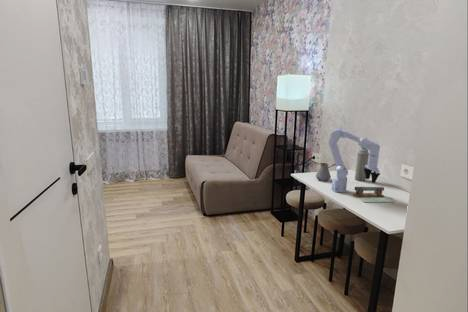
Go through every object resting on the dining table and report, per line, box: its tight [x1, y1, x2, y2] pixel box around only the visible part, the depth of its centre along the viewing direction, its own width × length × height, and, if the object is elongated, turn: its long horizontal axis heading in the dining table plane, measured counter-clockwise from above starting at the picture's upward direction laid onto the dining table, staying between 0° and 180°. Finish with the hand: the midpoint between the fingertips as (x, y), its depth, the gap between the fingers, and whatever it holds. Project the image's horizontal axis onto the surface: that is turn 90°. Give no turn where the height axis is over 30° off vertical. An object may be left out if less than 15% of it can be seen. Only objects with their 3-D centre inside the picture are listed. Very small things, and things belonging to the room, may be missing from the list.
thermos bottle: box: [354, 146, 370, 182], centre depth 230 cm, size 8×8×28 cm
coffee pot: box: [315, 160, 345, 182], centre depth 231 cm, size 21×12×15 cm, turn 97°
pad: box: [358, 197, 395, 204], centre depth 191 cm, size 20×7×1 cm, turn 93°
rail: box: [354, 186, 385, 192], centre depth 198 cm, size 19×2×2 cm, turn 93°
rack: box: [352, 189, 385, 198], centre depth 199 cm, size 19×5×5 cm, turn 93°
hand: (370, 180), depth 198 cm, fingers open, 7 cm apart
